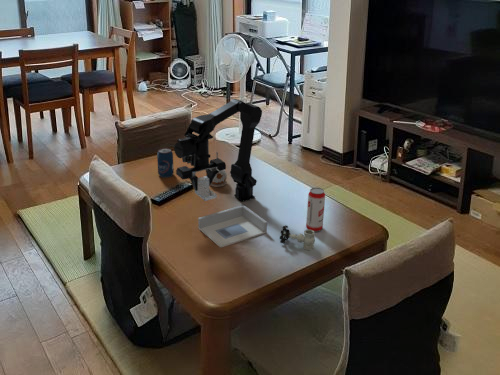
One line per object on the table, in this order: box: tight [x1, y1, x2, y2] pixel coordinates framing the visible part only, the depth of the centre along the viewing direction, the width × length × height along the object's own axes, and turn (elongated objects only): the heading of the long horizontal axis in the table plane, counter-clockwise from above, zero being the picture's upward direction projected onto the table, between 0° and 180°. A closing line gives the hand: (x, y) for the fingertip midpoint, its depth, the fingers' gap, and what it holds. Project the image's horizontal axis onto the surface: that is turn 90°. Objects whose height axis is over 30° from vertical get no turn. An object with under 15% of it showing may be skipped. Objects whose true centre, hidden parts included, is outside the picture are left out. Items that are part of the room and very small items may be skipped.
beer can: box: [305, 187, 326, 233], centre depth 214 cm, size 6×6×16 cm
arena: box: [197, 204, 268, 248], centre depth 214 cm, size 20×16×5 cm
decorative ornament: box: [210, 151, 228, 188], centre depth 248 cm, size 8×8×15 cm
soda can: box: [156, 147, 175, 179], centre depth 256 cm, size 7×7×12 cm
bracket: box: [194, 175, 218, 202], centre depth 219 cm, size 8×5×6 cm, turn 34°
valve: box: [279, 225, 316, 251], centre depth 205 cm, size 7×7×12 cm
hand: (201, 188), depth 222 cm, fingers closed on bracket, 5 cm apart
